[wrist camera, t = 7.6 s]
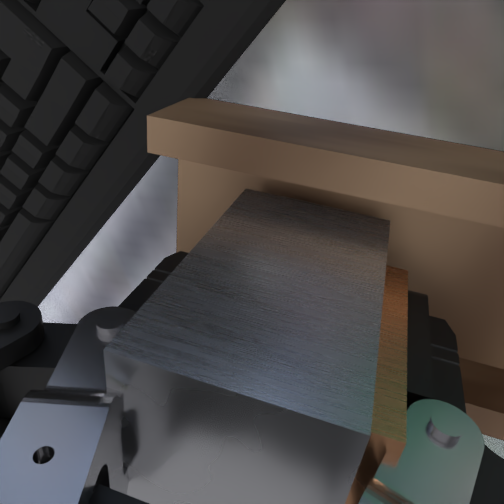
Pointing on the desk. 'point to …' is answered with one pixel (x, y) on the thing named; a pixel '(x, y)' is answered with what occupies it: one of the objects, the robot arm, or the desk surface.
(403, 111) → the desk surface
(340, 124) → the rail
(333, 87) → the desk surface
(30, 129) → the keyboard
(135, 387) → the gray metallic block
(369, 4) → the desk surface
